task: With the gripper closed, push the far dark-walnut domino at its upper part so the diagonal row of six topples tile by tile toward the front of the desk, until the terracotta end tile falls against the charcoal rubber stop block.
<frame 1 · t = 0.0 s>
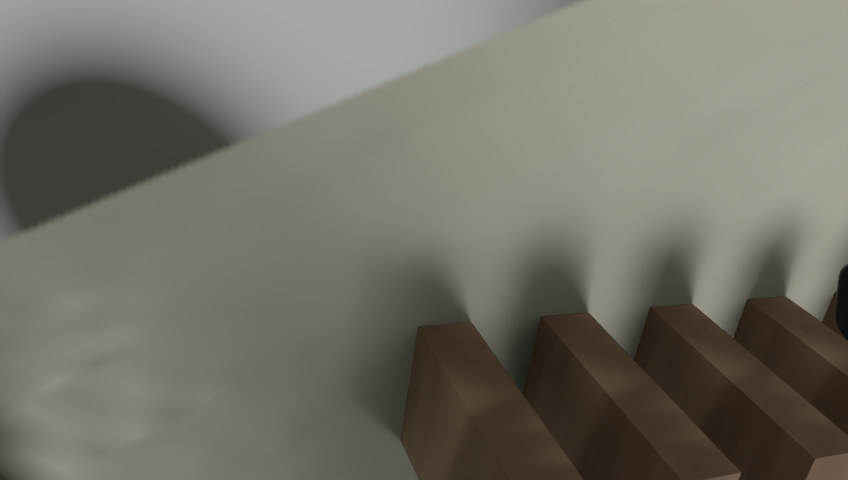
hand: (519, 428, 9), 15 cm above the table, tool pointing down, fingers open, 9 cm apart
domino 4: (655, 358, 32), on the table
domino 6: (435, 383, 28), on the table
domino 2: (831, 338, 35), on the table
domino 3: (747, 348, 33), on the table
domino 5: (551, 370, 30), on the table
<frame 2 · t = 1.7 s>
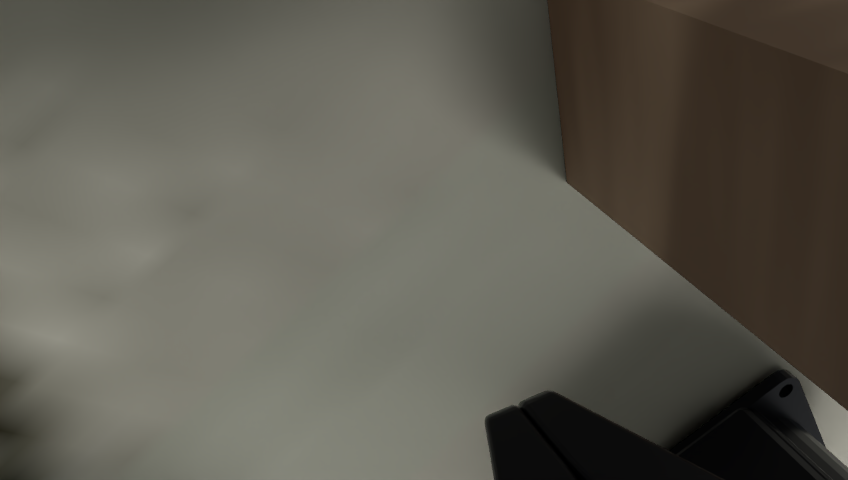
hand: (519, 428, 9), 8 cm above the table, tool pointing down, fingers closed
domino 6: (597, 67, 17), on the table
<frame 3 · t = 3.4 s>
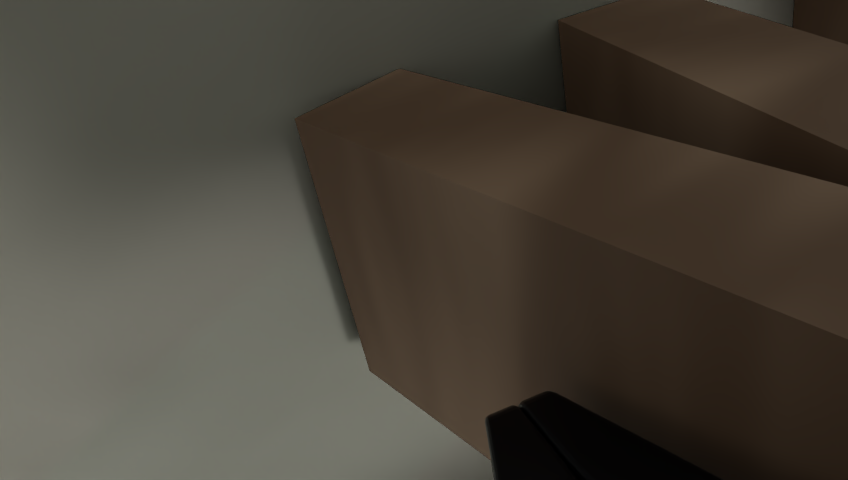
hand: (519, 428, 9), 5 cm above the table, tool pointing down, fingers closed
domino 4: (831, 62, 15), on the table
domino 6: (383, 229, 13), on the table, tilted 20°, touching gripper
domino 5: (618, 137, 14), on the table
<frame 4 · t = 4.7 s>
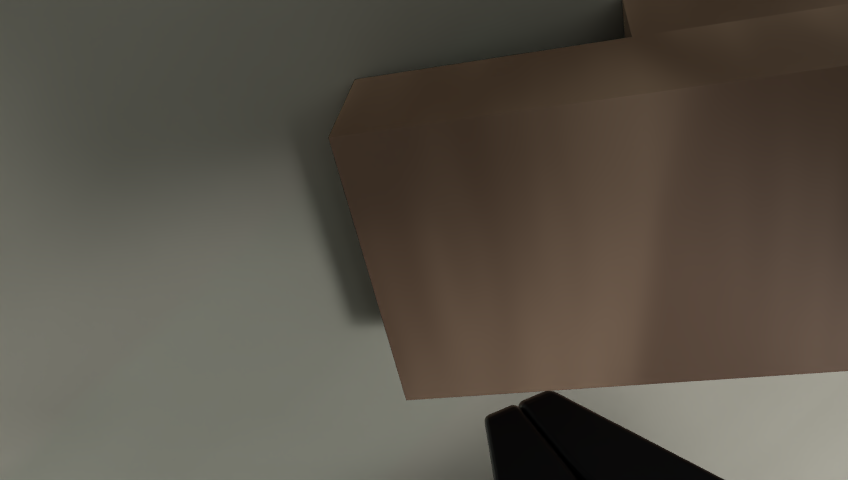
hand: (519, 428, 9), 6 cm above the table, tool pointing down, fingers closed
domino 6: (381, 246, 13), point 1 cm above the table, tilted 64°, touching domino 5
domino 5: (636, 156, 14), point 1 cm above the table, tilted 62°, touching domino 4, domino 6
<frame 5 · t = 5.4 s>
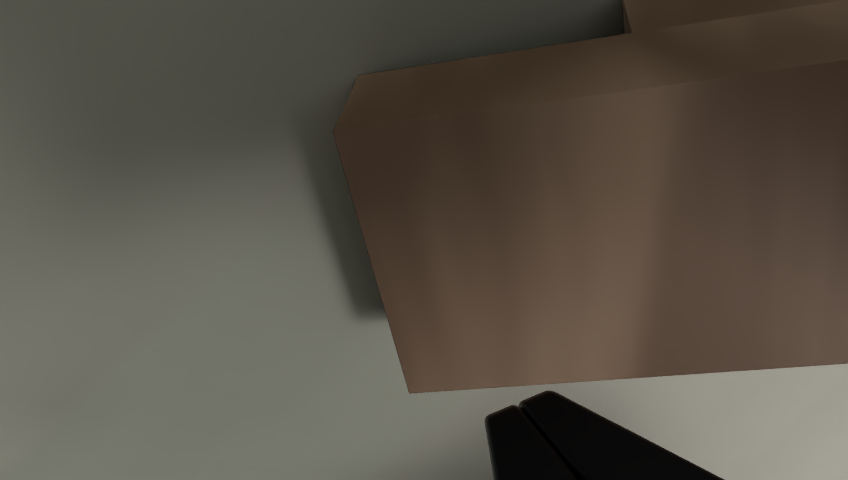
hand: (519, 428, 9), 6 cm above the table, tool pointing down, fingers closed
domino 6: (384, 240, 13), point 1 cm above the table, tilted 64°, touching domino 5
domino 5: (636, 153, 14), point 1 cm above the table, tilted 63°, touching domino 4, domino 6
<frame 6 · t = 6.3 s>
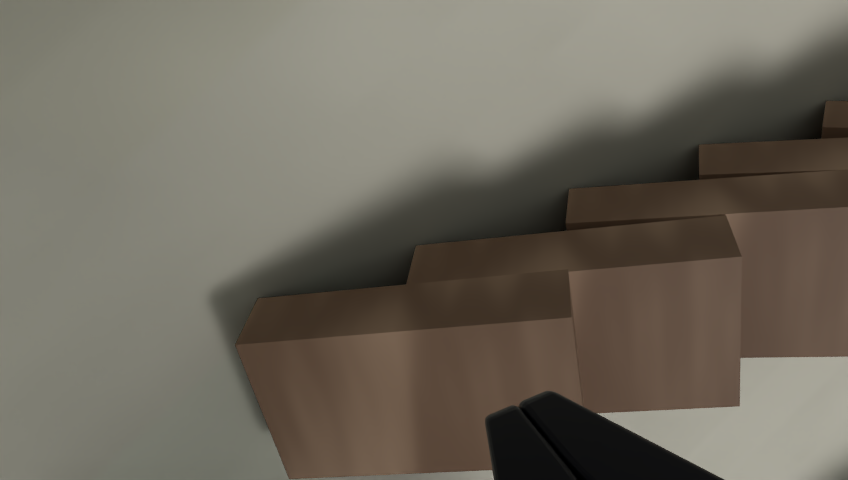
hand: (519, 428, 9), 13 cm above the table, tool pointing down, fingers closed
domino 4: (575, 275, 24), point 1 cm above the table, tilted 59°, touching domino 3, domino 5
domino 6: (273, 390, 22), point 1 cm above the table, tilted 64°, touching domino 5
domino 2: (818, 183, 26), point 1 cm above the table, tilted 44°, touching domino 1, domino 3
domino 3: (699, 229, 25), point 1 cm above the table, tilted 54°, touching domino 2, domino 4
domino 5: (428, 334, 23), point 1 cm above the table, tilted 63°, touching domino 4, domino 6
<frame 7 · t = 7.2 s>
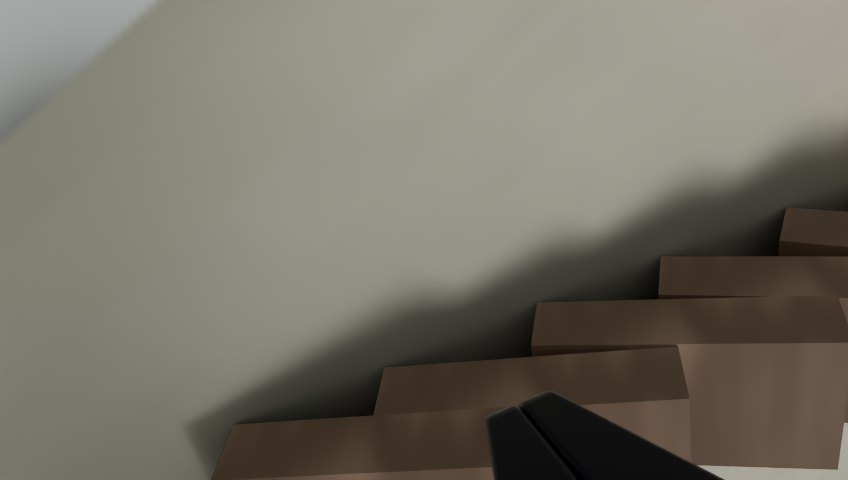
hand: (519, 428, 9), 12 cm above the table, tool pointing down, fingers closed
domino 4: (543, 383, 25), point 1 cm above the table, tilted 58°, touching domino 3, domino 5
domino 2: (779, 284, 27), point 1 cm above the table, tilted 43°, touching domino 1, domino 3
domino 3: (662, 335, 26), point 1 cm above the table, tilted 54°, touching domino 2, domino 4
domino 5: (397, 449, 24), point 1 cm above the table, tilted 63°, touching domino 4, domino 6
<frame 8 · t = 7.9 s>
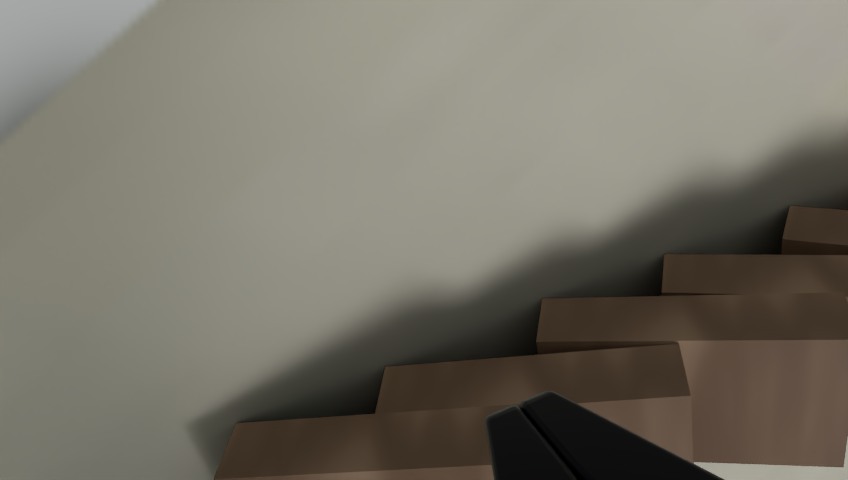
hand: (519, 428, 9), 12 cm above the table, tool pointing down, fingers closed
domino 4: (548, 379, 25), point 1 cm above the table, tilted 58°, touching domino 3, domino 5
domino 2: (782, 282, 27), point 1 cm above the table, tilted 43°, touching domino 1, domino 3
domino 3: (665, 333, 26), point 1 cm above the table, tilted 53°, touching domino 2, domino 4
domino 5: (399, 448, 24), point 1 cm above the table, tilted 63°, touching domino 4, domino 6
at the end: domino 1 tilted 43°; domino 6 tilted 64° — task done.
